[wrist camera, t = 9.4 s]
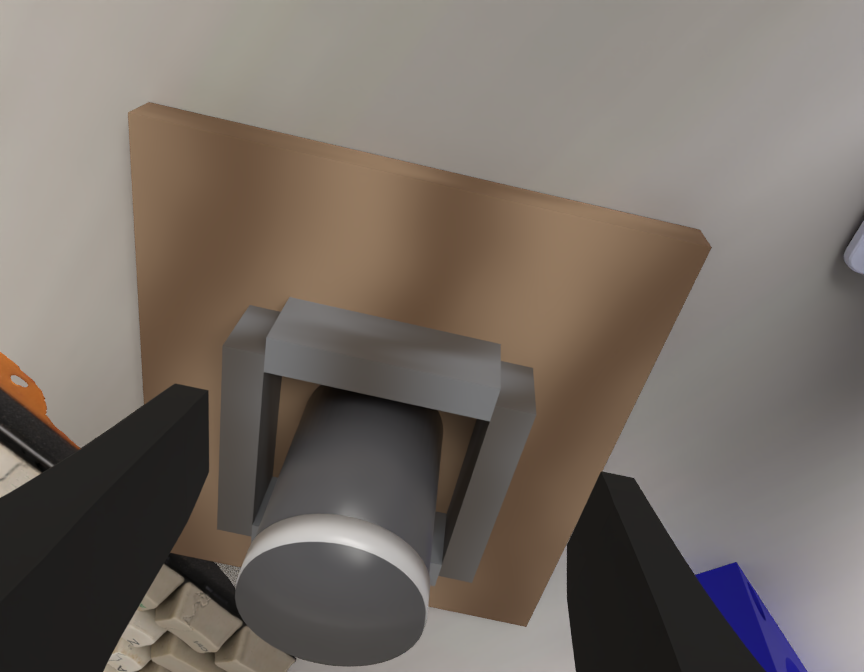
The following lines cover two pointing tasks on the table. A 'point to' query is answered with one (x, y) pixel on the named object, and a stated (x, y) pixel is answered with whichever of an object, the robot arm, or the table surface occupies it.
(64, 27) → the table surface
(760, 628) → the blue curved cradle
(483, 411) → the mount board
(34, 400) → the mechanical keyboard
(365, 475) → the lens
